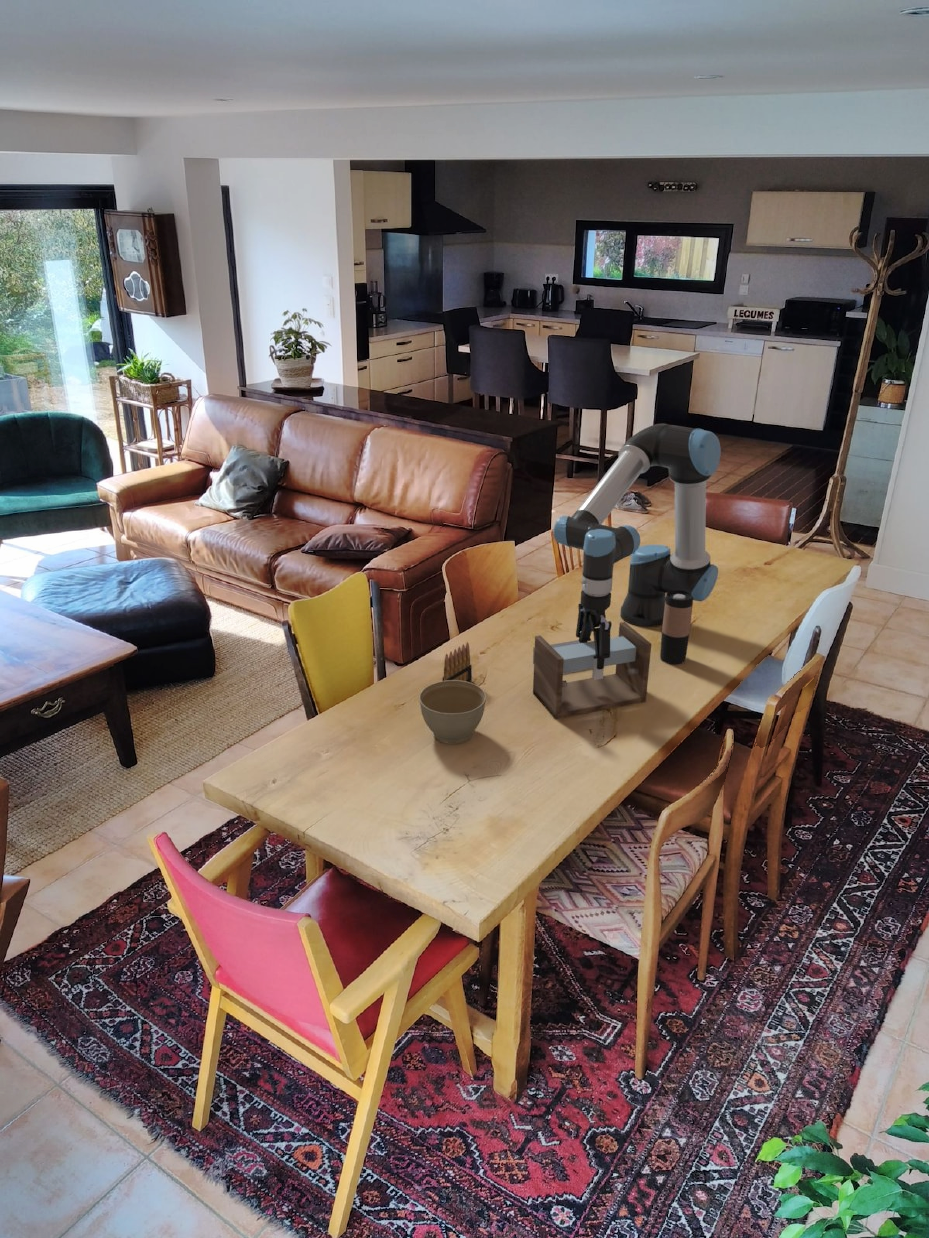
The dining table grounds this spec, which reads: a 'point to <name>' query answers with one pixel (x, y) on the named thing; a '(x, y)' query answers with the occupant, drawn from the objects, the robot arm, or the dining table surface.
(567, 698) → the shelf frame
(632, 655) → the shelf board
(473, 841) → the dining table surface
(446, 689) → the planter bowl
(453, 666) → the ammunition clip
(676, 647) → the travel mug
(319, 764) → the dining table surface
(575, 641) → the grey rectangular block
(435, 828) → the dining table surface
